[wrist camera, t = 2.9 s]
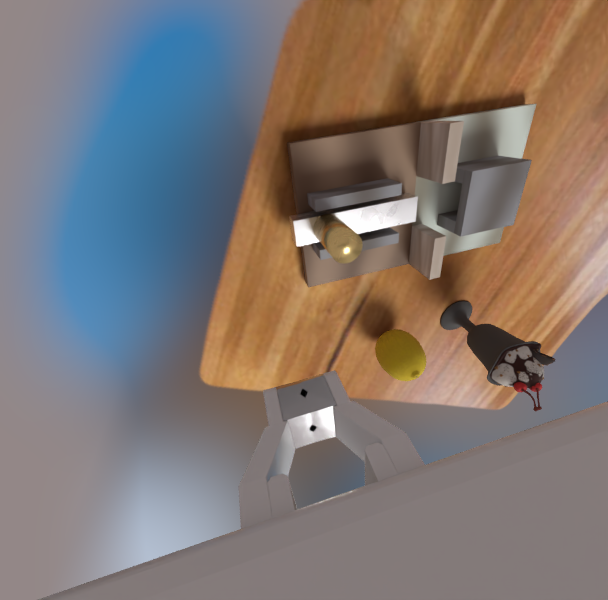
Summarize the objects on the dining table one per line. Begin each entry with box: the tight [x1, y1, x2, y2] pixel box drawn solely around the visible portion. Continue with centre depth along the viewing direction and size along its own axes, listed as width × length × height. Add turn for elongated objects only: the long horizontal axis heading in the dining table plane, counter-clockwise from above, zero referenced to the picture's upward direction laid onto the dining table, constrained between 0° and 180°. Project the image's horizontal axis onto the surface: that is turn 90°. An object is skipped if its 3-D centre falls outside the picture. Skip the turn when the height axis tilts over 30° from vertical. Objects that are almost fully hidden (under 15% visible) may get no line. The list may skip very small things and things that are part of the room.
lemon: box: [375, 329, 426, 381], centre depth 37 cm, size 6×6×8 cm
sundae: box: [441, 301, 555, 411], centre depth 36 cm, size 7×7×15 cm
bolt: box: [289, 192, 418, 264], centre depth 26 cm, size 12×3×7 cm, turn 97°
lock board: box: [287, 104, 536, 287], centre depth 29 cm, size 24×14×5 cm, turn 97°
